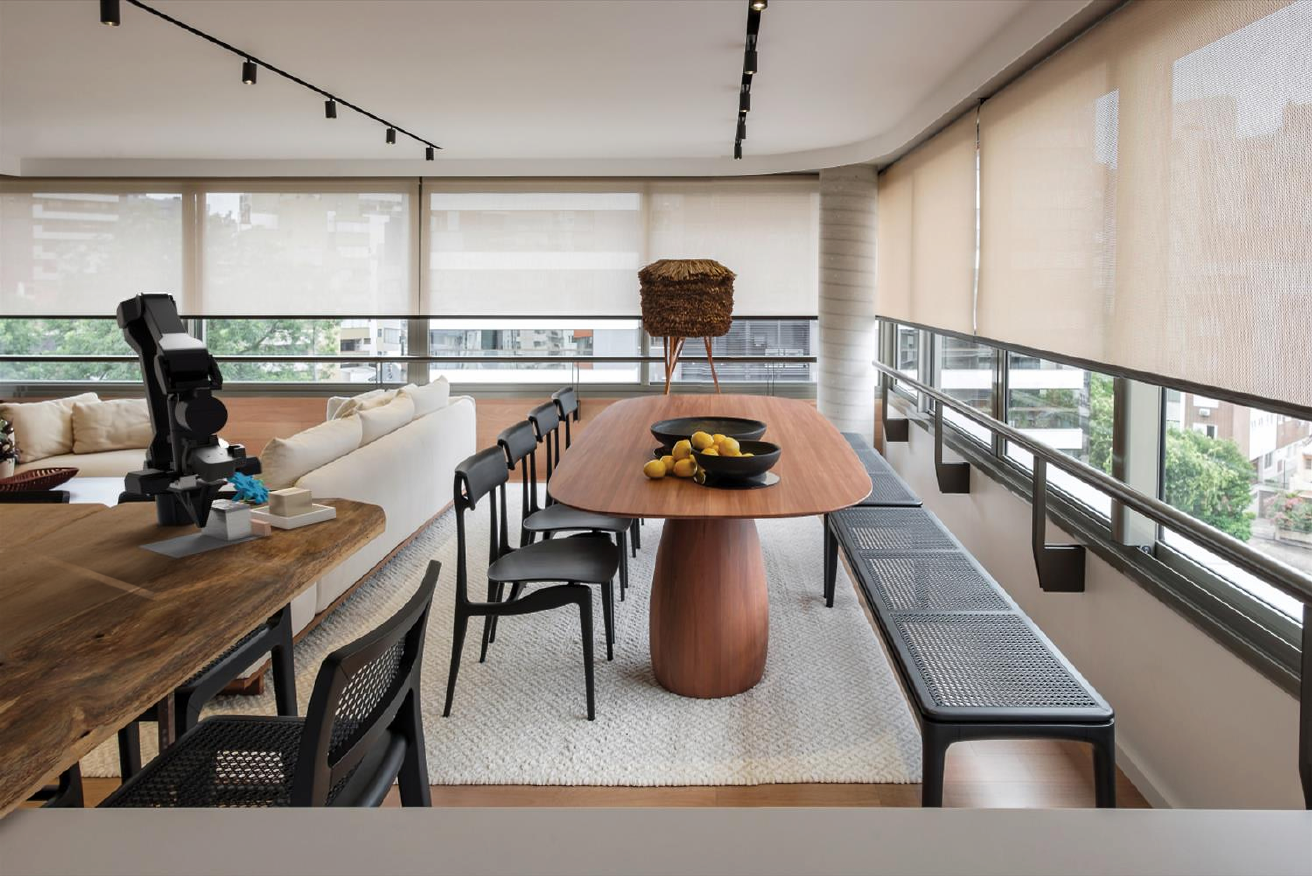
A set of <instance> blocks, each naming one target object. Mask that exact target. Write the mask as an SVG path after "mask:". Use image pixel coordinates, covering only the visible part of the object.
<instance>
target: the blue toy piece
mask: <svg viewBox="0 0 1312 876" xmlns="http://www.w3.org/2000/svg"><path fill="white" fill-rule="evenodd" d="M254 477H255V475H251V476H243V475H242V474H241V473H239V472H235V476H234V477H233V478H231V479H227V478H225V479H226V481H228V483H231V484H234V485H233V486H232V487H233V488H234V490H235V491H236V492H238V493H236V495H235V496H234V497H233V498H231V500H230V501H235V502H239V501H240V500H241V499H242V498H243V501H245V502H247V501H248V500H250V499H251V498H252V497H253V498H254V500H253V501H254V503H256V504H258V505H259V504H262V503H265V502H268V492H271V491H270V489H268V488H266V487H263V486H265V485H264V482H265V481H264V480H263V479H262V478H258V479H257V480H256V479H253V478H254Z"/></svg>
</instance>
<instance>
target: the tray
mask: <svg viewBox="0 0 1312 876" xmlns="http://www.w3.org/2000/svg"><path fill="white" fill-rule="evenodd" d="M312 507H313V512H312V513H307V514H303V515H299V516H295V517H290V518H286V517H282V516H277V515H272V514H269V505H266V506H262V507H258V508H252V509H250V512H251V519H256V520H260V521H265V522H270V526H272V527H277V528H281V529H285V530H291V529H296V528H299V527H300V528H301V527H304V526H307V525H311V524H315V523H320V522H324V521H328V520H332V519H336V518H337V511H336V507H333V506H328V505H323V504H317V503H312Z"/></svg>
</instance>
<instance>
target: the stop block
mask: <svg viewBox="0 0 1312 876" xmlns="http://www.w3.org/2000/svg"><path fill="white" fill-rule="evenodd" d="M267 502H268V506H269V514H272V515H277V516H282V517H286V518H290V517H295V516H299V515H303V514H307V513H312V512H313V507H312V504H313V498H312V490H311V489H306V488H300V487H296V486H294V487H290V488H288V487H287V488H284V489H279V490H275V491H270V492H268V501H267Z"/></svg>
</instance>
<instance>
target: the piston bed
mask: <svg viewBox="0 0 1312 876" xmlns="http://www.w3.org/2000/svg"><path fill="white" fill-rule="evenodd" d="M251 522H252V532H253V535H252V536H248V537H244V538H240V539H236V540H231V541H226V540H222V539H218V538H214V537H210V536H206V535H202V532H196V533H191V534H188V535H187V534H186V535H184V536H178V537H174V538H169V539H166V540H165V539H164V540H160V541H156V542H151V543H146V544H143V545H138V546H137V548H140V549H144V550H147V551H151V552H153V553H157V554H161V555H165V556H168V557H170V558H171V557H172V558H175V559H179V558H183V557H184V558H185V557H188V556H191V555H196V554H199V553H200V554H201V553H203V552H207V551H208V552H209V551H212V550H216V549H220V548H223V547H228V546H232V545H236V544H242V543H245V542H248V541H252V540H259V539H262V538H266V537H270V536H272V528H271V525H270V522H265V521H260V520H256V519H251Z"/></svg>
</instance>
